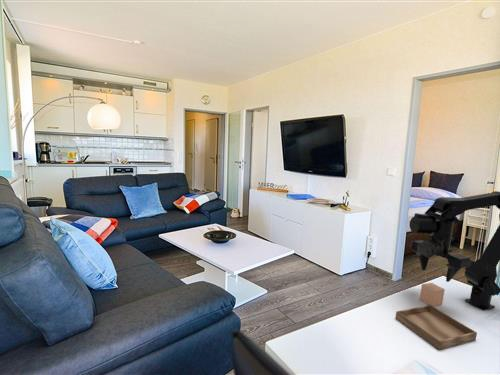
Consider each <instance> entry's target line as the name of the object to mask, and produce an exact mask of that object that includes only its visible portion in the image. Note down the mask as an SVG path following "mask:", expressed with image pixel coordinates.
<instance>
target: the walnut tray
mask: <svg viewBox="0 0 500 375" xmlns="http://www.w3.org/2000/svg"><path fill="white" fill-rule="evenodd" d="M395 320H397V321H398V322H400V323H401V324H402V325H404V326H405V327H406V328H408V329H409V330H410V331H412V332H413V333H414V334H416V335H417V336H418V337H420V338H421V339H422V340H424V341H426V343H428V344H430V345H431V346H432V347H434V349H436V350H438V351H442V350H446V349H449V348H453V347H456V346H461V345H463V344H467V343H471V342H475V341H476V340H477V335H478V332H477V331H475V330H473V329H472V328H470V327H468V326H467V325H465V324H464V323H461V321H459V320H456V319H455V318H453V317H452V316H450V315H449V314H446V313H445V312H443V311H442V310H440V309H438V308H436V306H431V305H428V304H427V305H422V306H418V307H417V306H415V307H412V308H406V309H401V310H397V311H396V312H395Z"/></svg>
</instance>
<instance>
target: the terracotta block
mask: <svg viewBox="0 0 500 375" xmlns="http://www.w3.org/2000/svg"><path fill="white" fill-rule="evenodd" d="M419 294H420V295H419V300H420V301H421V302H424V303H425V304H427V305H431V306H433V307H437V306H443V302H444V295H445V288H443V287H441V286H438V285H437V284H435V283H434V282H427V283H422V284H421V288H420V293H419Z"/></svg>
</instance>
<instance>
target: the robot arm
mask: <svg viewBox="0 0 500 375" xmlns="http://www.w3.org/2000/svg"><path fill="white" fill-rule="evenodd" d="M492 206H493V207H496V209H498V210H500V191H498V190H497V191H492V192H488V193H482V194H474V195H471V196H465V197H464V196H463V197H450V196H448V197H445V196H444V197H442V196H441V197H437V198H435V200H434V202H433V204H432V205H431V206H429V208H428V209H427V210H426V211H425V212H424V213H417V212H416V213H414V216H412V217H411V219H410V220H409V229H410V231H411V232H412V233H413V234H428V237H427V240H422V239H420V240H413V241H411V243H410V249H412V250H413V252H414V253H416V255H417V256H418V259H419V262H420V263H419V264H420V266H421V270H422V271H426V269H427V267H428V263H429V259H430V258H432V257H433V256H435V257H438V256H439V257H441V258H444V259H446V260H447V264H446V267H447V272H446V276H445V282H446V283H447V282H450V281H451V280H452V279H453V278H454V277H455V275H456V274H457V273H458V272H460V270H462V269H464V270H465V271H464V277H465V278H466V280H467V284H469V285H471V286H472V287H471V292H470V296H469V298H465V300H464V301H465V302H467V303H469V304H470V305H472V306H474V307H476V308H478V309H480V310H482V311H487V310H492V309H495V308H496V306H495V305H493V304H492V303H491V302H492V297H493V296H494V297H495V296H499V295H500V286H499V285H498V284H497V283H496V280H497V278H498V272H497V270H498V269H497V266H498V264H499V263H500V224H499V225H498V227H497V228H496V230H495V232H494V234H493V235H492V237H491V239H490V240H489V242H488V244H487V246H486V247H485V249H484V250H483V252H482V255H480V257H479V259H476V260H475V261H474V260H471V258H470V257H468V256H466V255H463V254H459V253H458V254H450V253H452V250H453V249H452V248H450V247H451V242H454V237H452V235H453V229H454V224H461V220H460V219H458V216H460V215H463V214H464V213H465V212H467V211H470V210H476V209H482V208H487V207H492ZM498 218H499V220H500V213H499V215H498Z"/></svg>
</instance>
